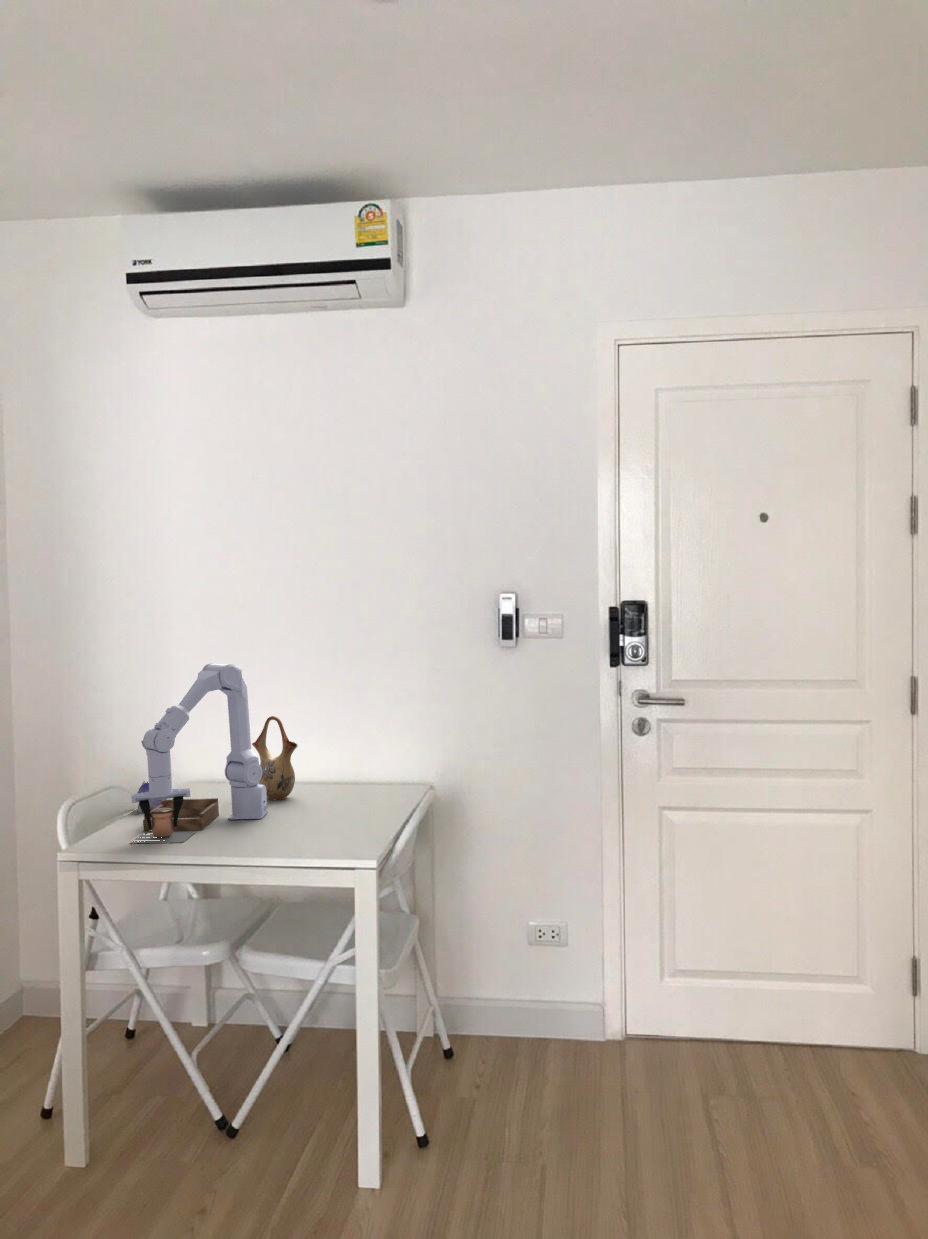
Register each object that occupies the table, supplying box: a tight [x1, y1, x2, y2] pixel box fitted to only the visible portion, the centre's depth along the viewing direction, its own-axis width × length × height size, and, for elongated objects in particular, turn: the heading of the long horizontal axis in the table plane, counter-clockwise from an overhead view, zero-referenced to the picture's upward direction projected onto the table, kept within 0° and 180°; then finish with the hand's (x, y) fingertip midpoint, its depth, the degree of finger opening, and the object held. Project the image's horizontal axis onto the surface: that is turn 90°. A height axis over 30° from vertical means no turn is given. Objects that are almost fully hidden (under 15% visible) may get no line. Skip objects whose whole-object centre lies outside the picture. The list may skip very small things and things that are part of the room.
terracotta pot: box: [150, 808, 174, 837], centre depth 262 cm, size 6×6×6 cm
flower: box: [136, 780, 167, 815], centre depth 292 cm, size 9×9×10 cm
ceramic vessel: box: [251, 715, 299, 800], centre depth 302 cm, size 16×9×25 cm, turn 62°
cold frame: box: [142, 797, 220, 831], centre depth 277 cm, size 16×15×5 cm
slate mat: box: [130, 831, 196, 845], centre depth 262 cm, size 14×10×1 cm
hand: (162, 827), depth 262 cm, fingers closed on terracotta pot, 6 cm apart
